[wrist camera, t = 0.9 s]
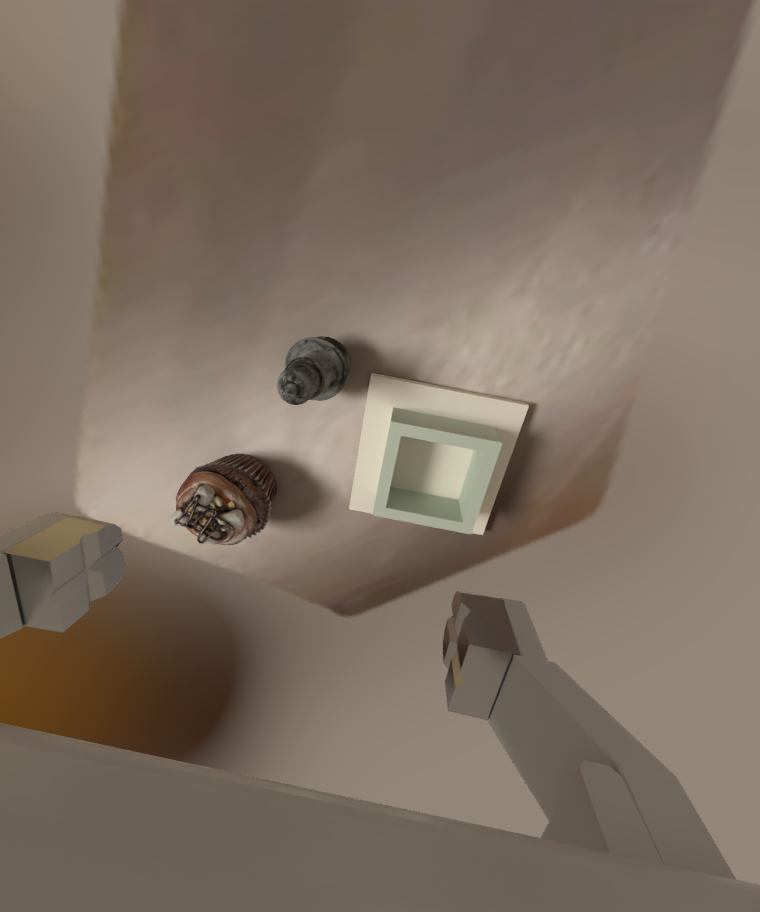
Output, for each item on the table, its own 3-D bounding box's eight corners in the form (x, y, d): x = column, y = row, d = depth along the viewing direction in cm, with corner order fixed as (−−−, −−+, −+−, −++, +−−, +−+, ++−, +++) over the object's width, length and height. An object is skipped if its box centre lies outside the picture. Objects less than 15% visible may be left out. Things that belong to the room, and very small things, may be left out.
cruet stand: (372, 372, 37) (365, 385, 32) (525, 402, 37) (544, 420, 32) (350, 503, 44) (342, 531, 39) (480, 529, 44) (489, 560, 39)
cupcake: (194, 489, 45) (138, 538, 36) (227, 430, 41) (174, 469, 32) (261, 529, 47) (224, 586, 38) (298, 476, 43) (268, 525, 34)
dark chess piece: (357, 340, 36) (332, 360, 25) (347, 396, 39) (321, 438, 28) (299, 327, 36) (249, 342, 25) (293, 385, 39) (246, 421, 28)
